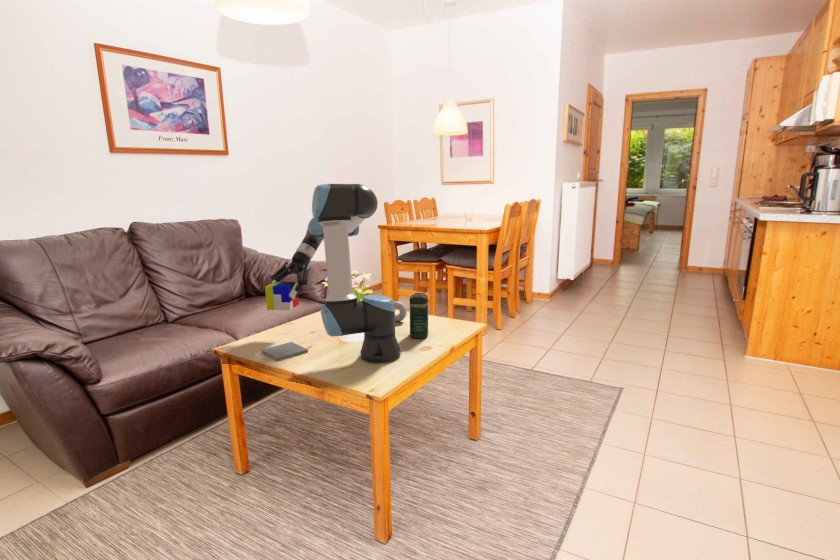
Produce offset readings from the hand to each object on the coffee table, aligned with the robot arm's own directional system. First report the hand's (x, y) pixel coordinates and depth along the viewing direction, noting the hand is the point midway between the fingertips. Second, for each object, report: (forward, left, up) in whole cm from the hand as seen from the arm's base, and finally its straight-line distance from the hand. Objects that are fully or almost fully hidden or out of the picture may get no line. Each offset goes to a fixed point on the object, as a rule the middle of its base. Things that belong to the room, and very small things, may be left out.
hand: (279, 295), depth 192 cm
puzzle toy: (0, -1, -5) cm, 6 cm away
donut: (-17, -50, -19) cm, 56 cm away
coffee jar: (-40, -43, -19) cm, 62 cm away
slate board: (-17, +8, -19) cm, 27 cm away
